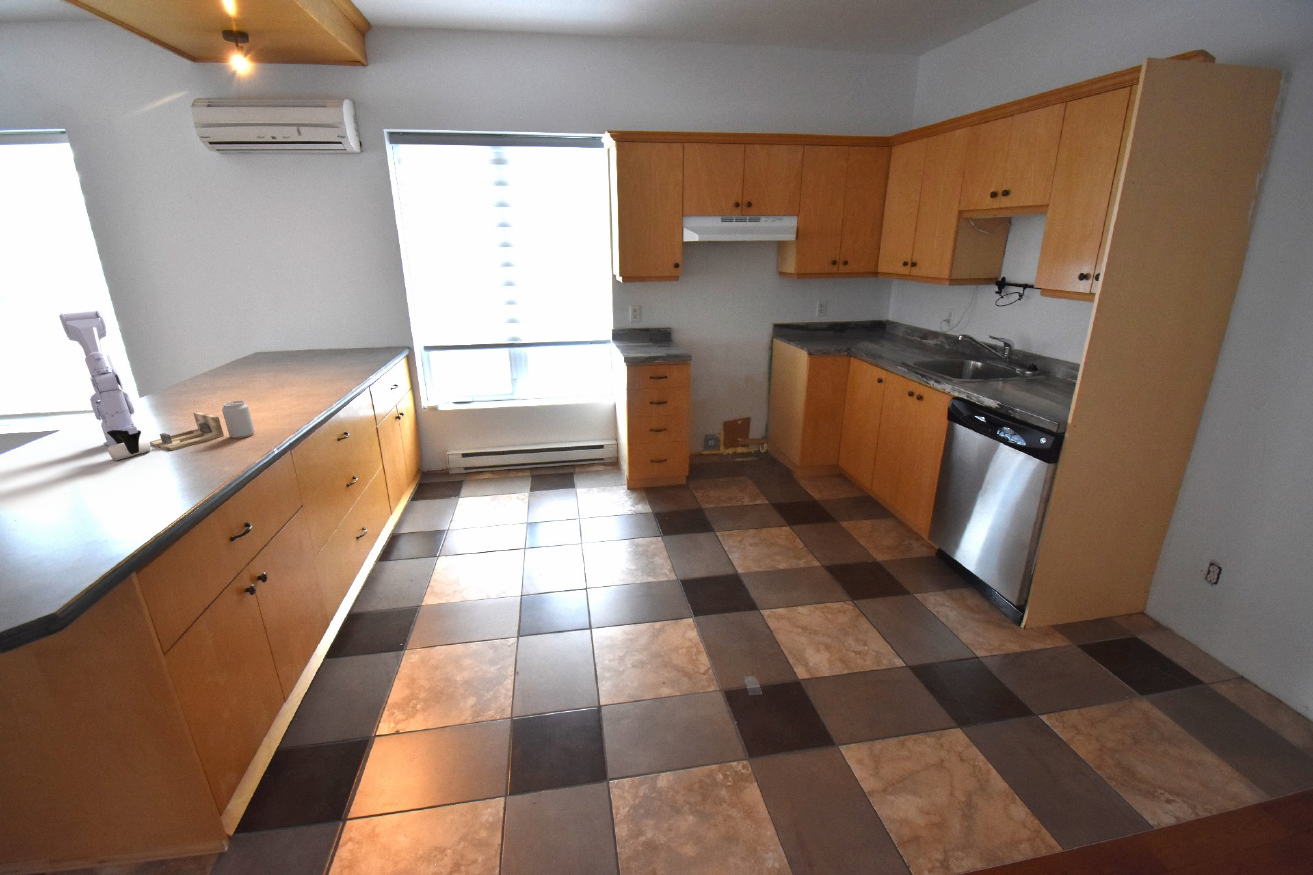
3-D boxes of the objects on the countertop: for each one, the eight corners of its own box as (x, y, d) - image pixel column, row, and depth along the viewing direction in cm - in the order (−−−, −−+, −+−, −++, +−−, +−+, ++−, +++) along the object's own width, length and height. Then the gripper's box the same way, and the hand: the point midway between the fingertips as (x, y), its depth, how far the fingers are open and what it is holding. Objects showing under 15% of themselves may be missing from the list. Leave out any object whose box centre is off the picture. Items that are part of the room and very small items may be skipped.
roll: (111, 459, 189) (106, 445, 187) (144, 450, 196) (140, 436, 194) (118, 461, 186) (113, 447, 185) (152, 452, 194) (147, 438, 192)
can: (242, 439, 204) (233, 406, 199) (224, 438, 205) (214, 405, 201) (260, 432, 210) (251, 400, 206) (242, 431, 212) (233, 399, 208)
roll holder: (150, 444, 201) (143, 425, 199) (202, 430, 214) (196, 411, 212) (171, 450, 195) (165, 430, 192) (224, 435, 208) (218, 416, 206)
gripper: (89, 412, 186) (104, 452, 191) (111, 417, 180) (126, 459, 184) (117, 405, 192) (131, 445, 197) (139, 411, 185) (153, 452, 190)
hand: (130, 451), depth 191 cm, fingers closed on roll, 5 cm apart
